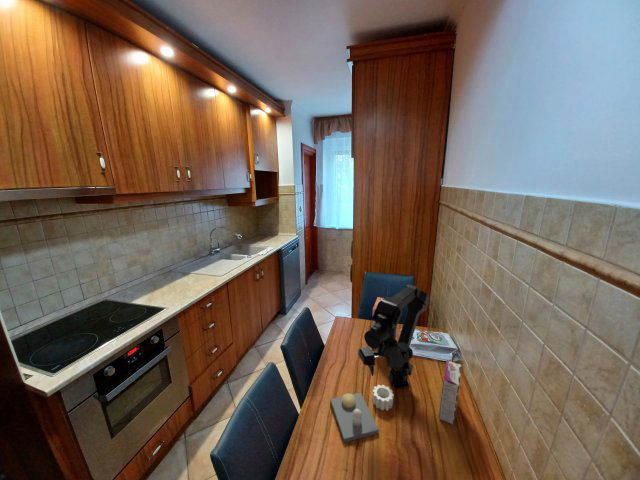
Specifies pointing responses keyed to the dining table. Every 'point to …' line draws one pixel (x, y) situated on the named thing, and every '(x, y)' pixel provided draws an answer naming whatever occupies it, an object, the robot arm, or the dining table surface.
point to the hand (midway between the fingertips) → (383, 373)
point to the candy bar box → (450, 392)
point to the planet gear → (382, 402)
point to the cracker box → (375, 308)
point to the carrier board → (348, 418)
